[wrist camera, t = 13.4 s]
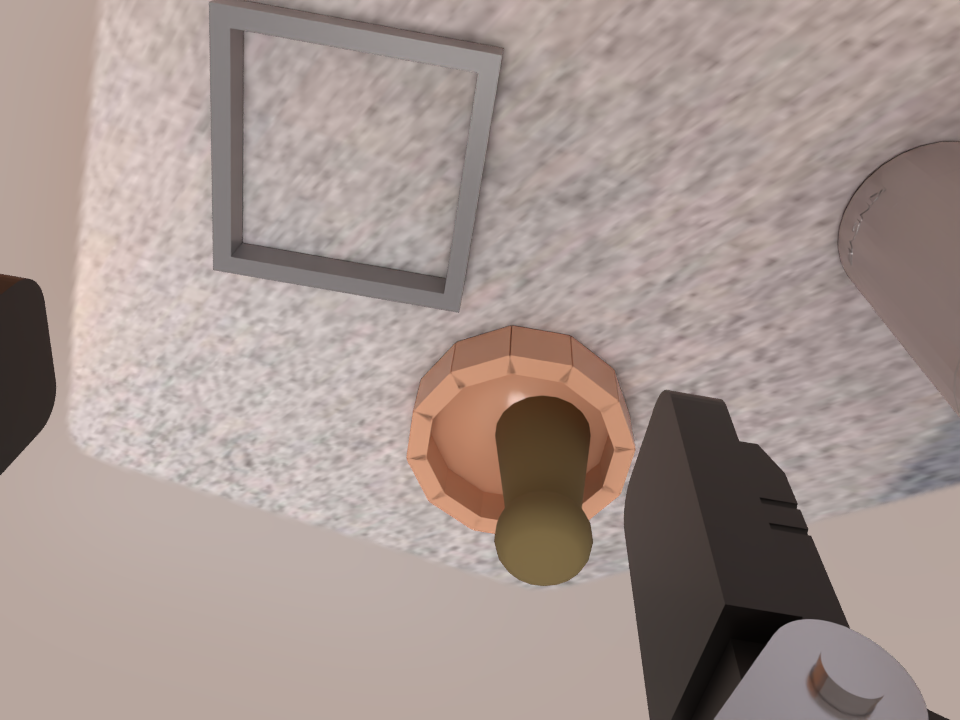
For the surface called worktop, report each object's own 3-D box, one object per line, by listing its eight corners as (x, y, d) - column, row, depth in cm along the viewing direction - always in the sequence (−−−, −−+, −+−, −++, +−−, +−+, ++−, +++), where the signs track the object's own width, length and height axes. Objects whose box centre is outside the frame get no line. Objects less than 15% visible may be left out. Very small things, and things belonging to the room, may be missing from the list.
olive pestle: (552, 487, 52) (555, 619, 43) (476, 443, 51) (462, 570, 41) (610, 427, 49) (627, 554, 40) (531, 378, 48) (529, 499, 38)
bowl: (650, 349, 47) (658, 380, 44) (598, 514, 54) (601, 551, 51) (430, 311, 47) (423, 340, 44) (405, 482, 54) (397, 517, 51)
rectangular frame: (503, 48, 39) (501, 55, 38) (461, 297, 46) (459, 312, 45) (223, -4, 39) (209, 1, 37) (225, 255, 46) (213, 270, 44)
